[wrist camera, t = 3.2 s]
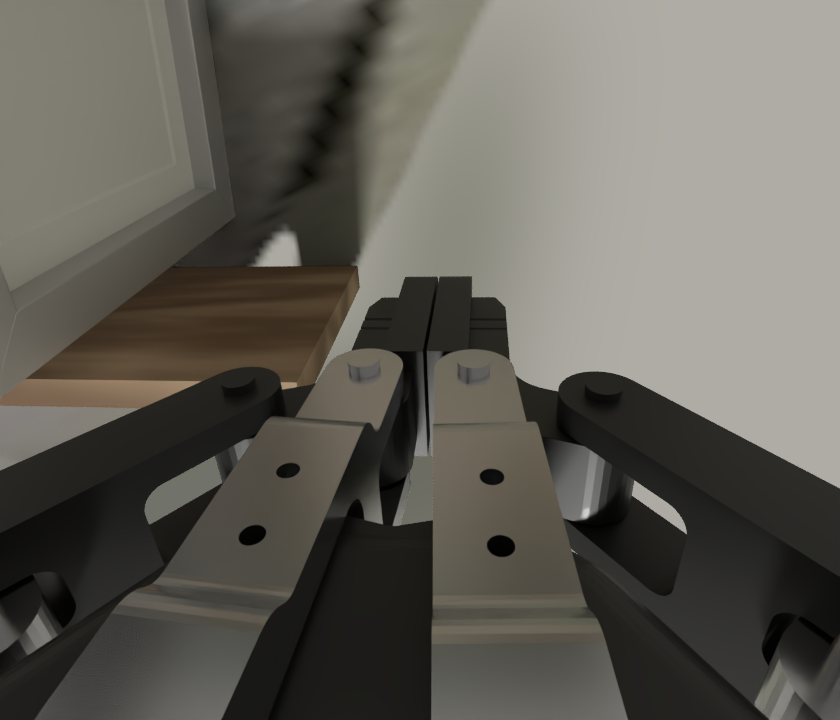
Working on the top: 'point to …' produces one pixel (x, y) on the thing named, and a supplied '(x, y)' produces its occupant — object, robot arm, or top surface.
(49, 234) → the picture frame
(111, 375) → the shelf back
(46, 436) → the top surface
